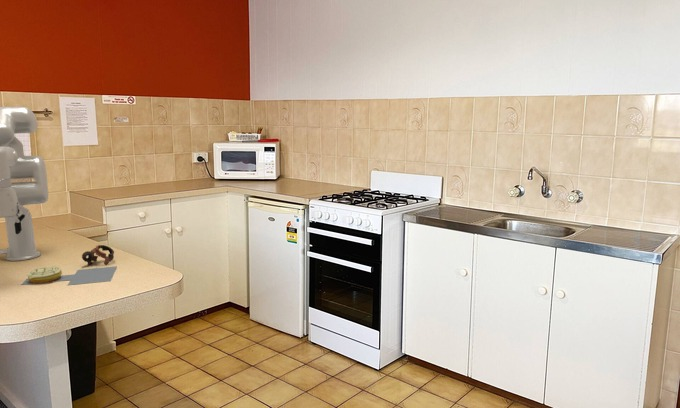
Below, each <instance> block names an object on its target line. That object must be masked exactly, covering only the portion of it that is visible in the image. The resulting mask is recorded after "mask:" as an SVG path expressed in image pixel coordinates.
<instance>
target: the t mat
mask: <svg viewBox="0 0 680 408" xmlns="http://www.w3.org/2000/svg"><path fill="white" fill-rule="evenodd" d="M117 268H118V266H117V265H116V266H105V267H95V268H82V269H81V268H80V269H78V270H76V272H75V273H74V274H65V275H63V274H61V276H60V278H58V279H57V280H55V281H50V282H49V283H56V282H66V281H69V282H68V283H67V286H73V285H74V286H75V285H85V284H94V283H96V284H97V283H104V282H105V283H106V282H111V281H112V279H113V277H114V275H115V272H116V270H117ZM43 283H45V284H46V282H43ZM43 283H42V284H43ZM34 284H37V283H32V282H30V281H29V280H28V278H26V279H25V280H24V281H23V282H22V283H21V285H22V286H24V285H34Z"/></svg>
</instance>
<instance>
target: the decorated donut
mask: <svg viewBox="0 0 680 408" xmlns="http://www.w3.org/2000/svg"><path fill="white" fill-rule="evenodd" d="M62 275H63V272H62V269H61V268H60V267H58V266H47V267H46V266H45V267H40V268H37V269H33V270H32V271H30V272H28V274H27V279H28V280H29V281H30V282H32V283H36V284H43V282H47V283H51V282H50V281H55V280H57V279H58V278H60V276H62Z"/></svg>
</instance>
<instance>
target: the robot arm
mask: <svg viewBox="0 0 680 408" xmlns="http://www.w3.org/2000/svg"><path fill="white" fill-rule="evenodd" d="M38 126H39V123H38V118H37V116H36V115H35V113H34V112H33V111H32V109H30V108H29V107H27V106H0V218H4V220H5V221H4V222H5V229H6V236H7V245H8V247H6V248H5V249H4V248H0V255H1V256H2V255H6V256H5V260H7V261H9V262H10V261H11V262H17V261H19V262H21V261H26V260H32V259H34V258H35V259H36V258H38V257H41V256H40V255H41V251H40V250H37V249H36V242H35V232H34V226H33V217H32V214H31V212H30V209H28V208H26V207H25V206H27V205H40V204H44V203H47V201H49V185H48V177H47V167H46V163H45V159H44V158H43V157H42V156H41V155H40V156H39V155H25V151H24V145H23V143H22V141H20V139H19V138H18V137H17V136H15V134H16V135H17V134H33V133H35V132H36V131H37V129H38ZM28 179H29V180H30V179H32V180H33V181H17V182H12V180H28Z"/></svg>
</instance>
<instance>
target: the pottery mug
mask: <svg viewBox="0 0 680 408" xmlns="http://www.w3.org/2000/svg"><path fill="white" fill-rule="evenodd" d="M100 249H101V250H102V251H101V250H100ZM103 251H104V252H103ZM105 251H108V252H109V253H108V254H107V253H106V252H105ZM114 254H115V251H114V249H112V248H111V247H110V246H108V245H103V244H98V245H96V246H95V247H94V248H92V249H91V250H90V251H89V250H87V251H85V252H83V253H82V255H81V258H82V260H83V262H86V263H87V265H92V262H98V258H99V257H100V258H102V259H104V262H103V264H104V265H106V266H107V264H108V265H109V263H110V262H112V261H113V260H114V258H115V255H114ZM107 255H108V256H107ZM87 256H88V257H87Z"/></svg>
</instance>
